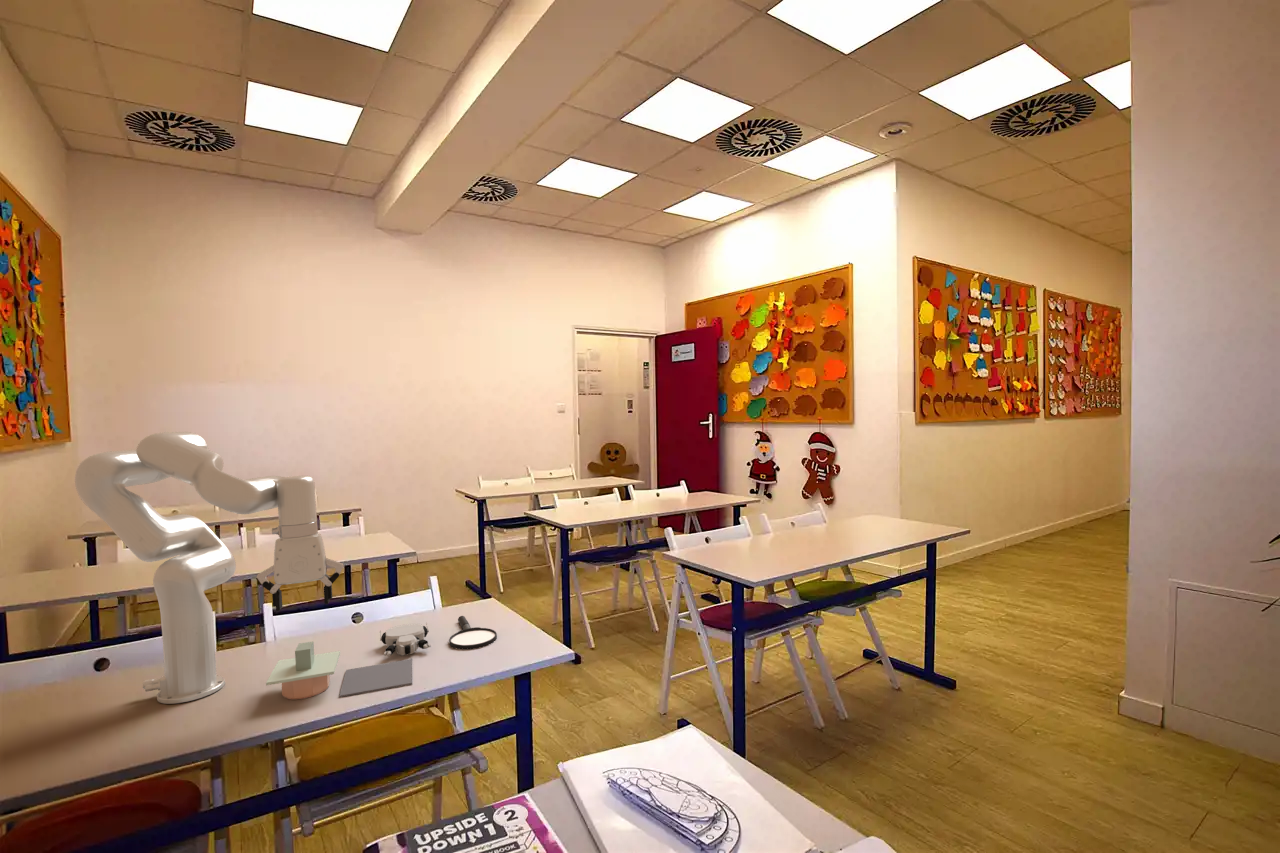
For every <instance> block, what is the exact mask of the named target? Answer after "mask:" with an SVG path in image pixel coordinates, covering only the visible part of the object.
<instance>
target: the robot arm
mask: <svg viewBox="0 0 1280 853" xmlns="http://www.w3.org/2000/svg"><path fill="white" fill-rule="evenodd" d="M208 446H209V445H208V443H207V442H206V440H205V439H204V437H203V436H200V435H199V434H198V433H196V432H191V431H175V432H174V431H172V432H168V431H167V432H166V431H165V432H157V433H153V434H149V435H147V436H146V437H143V438H142V439H141V440H140V441H139V442H138V444H137V446H136V448H135V449H126V450H125V449H123V450H112V451H106V452H105V451H104V452H100V453H96V454H93V455H89V456H88V457H86V458H85V459H83V460H82V461H80V463H79V465H78V466H77V468H76V470H75V476H74V484H75V490H76V492H77V495H78V496H79V499H80V500H81V501H82V502H83V503H84V505H85V506H86V507H87V508H88V509H89V510H90V511H91V512H93V513H94V514H95V515H96V516H97V517H99V518H100V519H101V520H102V521H103V522H104V523H106V525H107V526H108V528H110V529H111V530H112V532H113V533H114V534H115V535H116V536H117V537H118V538H119V539H120V541H121V542H123V543H124V545H125V546H126V547H127V548H128V549H129V550H130V551H131V553H132V554H133V555H134V556H136V558H138V559H139V560H141V561H143V562H147V563H152V562H153V563H154V562H158V561H163V560H165V561H164V562H162V563H161V564H160V565H159V566H158V567H157V568H156V570H155V572H154V575H153V578H152V585H153V589H154V592H155V596H156V598H157V601H158V605H159V606H158V607H159V611H160V612H159V613H160V621H161V622H160V623H161V624H160V625H161V635H162V637H161V638H162V639H161V640H162V654H163V672H164V675H162V676H161V677H159V678H150V679H145V680H143V682H142V689H143V690H144V691H145V692H151V691H152V692H153V691H158V692H157V694H156V700H157V702H158V703H161V704H164V705H166V704H168V705H171V704H174V705H175V704H181V703H187V702H190V701H195V700H198V699H202V698H206V697H208V696H210V695H212V694H214V693H216V692H218V691H219V690H221V689H222V688H223V687H224V686H225V683H226V680H225V677H224V676H222V675H219V674H217V663H216V662H217V660H216V658H217V657H216V644H215V624H214V612H213V607H212V604H211V603H210V601H209V599H208V598H207V596H206V594H205V591H207V590H209V589H211V588H214V587H217V586H220V585H222V584H224V583H226V582H228V581H229V580H230V579H231V578H232V577H233V576H234V574H235V572H236V569H237V562H236V560H235V557H234V554H233V552H231V550H230V548H228V547H227V545H226V544H225V543H224V542H223V541H222V540H221V539H220V538H219V536H218V535H217V534H216V533H215V532H214V531H213V530H212V529H211V528H210V527H209V525H207V524H206V522H204V521H203V520H202V519H200V518H199V517H197V516H194V515H192V514H182V513H181V514H175V515H171V516H164V515H162V514H160V513H159V512H158V511H157V510H156V509H155V508H154V507H153V506H152V505H151V503H150V502H149V501H148V500H147V499H145V498H144V497H142V496H140V495H138V494H137V493H134V492H132V491H130V490H129V489H128V488H127V487H134V486H141V485H148V484H153V483H154V484H155V483H157V482H160V481H163V480H165V479H167V478H170V477H172V478H174V479H176V480H178V481H180V482H184V483H185V484H188V485H190V486H193V487H194V489H195V491H196V493H197V494H198V495H199V496H200V497H201V498H202V499H203V500H204V501H205V502H206V503H208V504H209V505H213V506H215V507H217V508H219V509H222V510H224V511H228V512H230V513H233V514H236V515H250V514H255V513H259V512H263V511H268V510H272V509H276V508H277V512H278V513H277V514H278V516H277V517H278V526H276V527H273V528H271V534H272V535H278V537H279V538H277V539H276V540H275V543H274V552H273V555H274V556H273V565H271V566H270V567H268V568H267V569H264V570H263V571H261V572H259V573H258V574H257V575H256V579H257V580H258V582H259V583H260V584H261V586H262V587H263V588H265V590H267V591H268V592H269V593H270V594H272V595H271V596H272V598H271V599H272V607H273V608H275V612H279V611H281V610H282V608H283V594H282V592H283V591H282V590H281V589H280V588H281V587H282V586H284V585H291V584H292V585H293V584H301V583H307V582H308V583H310V582H315V581H321V583H323V584H324V586H323V596H324V597H323V598H324V602H323V603H324V604H325V605H328V604H329V603H330V600H332V599H333V583H334V582H336V580H337V579H338V578H339V576H340V575H341V573H342V570H343V568H344V563H343V562H340V561H336V560H333V559H331V558H327V557H326V550H325V544H324V540H323V536H322V534H321V533H319V532H318V531H319V530H318V518H317V516H318V515H317V497H316V485H315V484H316V483H315V480H314V478H313V477H312V476H310V475H294V476H292V475H291V476H280V475H268V476H259V477H254V478H247V479H243V478H239V477H236V476H233V475H231V474H229V473H226V472H224V471H223V469H224V458H223V456H222V455H220V454H219V453H218V452H215V451H213V450H211V449H209V447H208ZM328 567H330V568H334V569H335V571H334V573H333V574H332V575H331V576H330V575H328V574H327V571H328ZM272 573H273V579H274V583H273V582H272V581H270V580H269V578H267V577H268V576H270V575H271V574H272Z"/></svg>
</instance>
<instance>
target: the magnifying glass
mask: <svg viewBox="0 0 1280 853" xmlns="http://www.w3.org/2000/svg"><path fill="white" fill-rule="evenodd" d="M457 622H458V623H459V625H460V627H461V629H462V630H459V631H458V632H456V633H453V634H452V635H451V636H450V637H449V639H448V641H449V642H448V643H449V647H451V648H452V647H453V649H455V648H457V649H456V650H474V649H473V648H476V649H480V648H479V647H481V648H483V646H484V647H487V646H489V644H490V645H492V644H493V643H495V642H494V641H497V639H498V634H497V632H496V630H494V629H491V628H488V627H487V628H486V627H480V626H479V627H471V625H470V623H469V622H468V620H467V618H466V617H465V616H464V615H460V616H458V618H457ZM491 643H492V644H491Z"/></svg>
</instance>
